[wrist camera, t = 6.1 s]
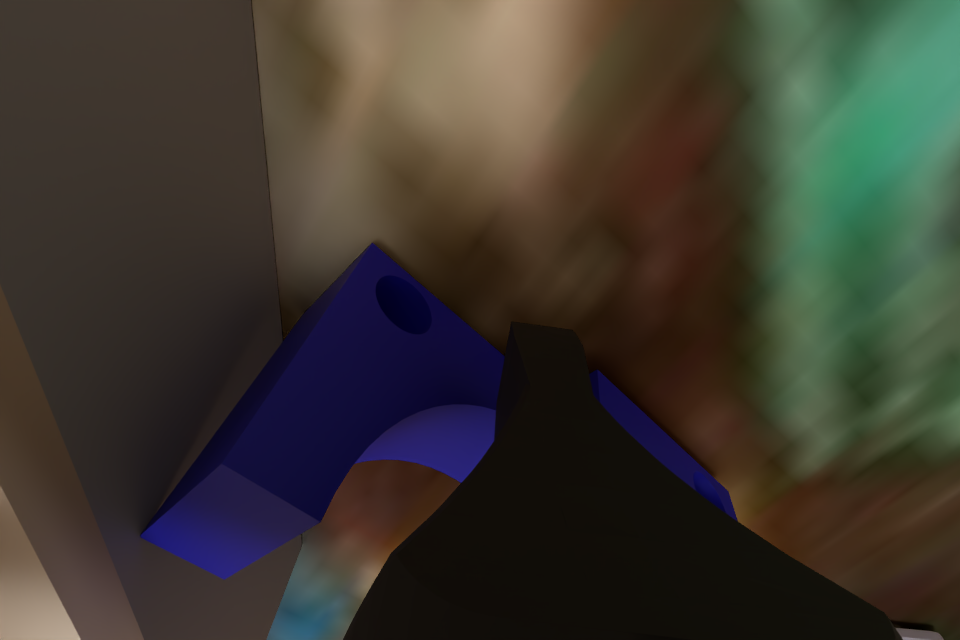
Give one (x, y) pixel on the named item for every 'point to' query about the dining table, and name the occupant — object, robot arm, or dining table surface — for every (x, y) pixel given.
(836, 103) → the dining table surface
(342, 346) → the blue half-round bracket
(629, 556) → the robot arm
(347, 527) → the dining table surface
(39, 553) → the wall board
